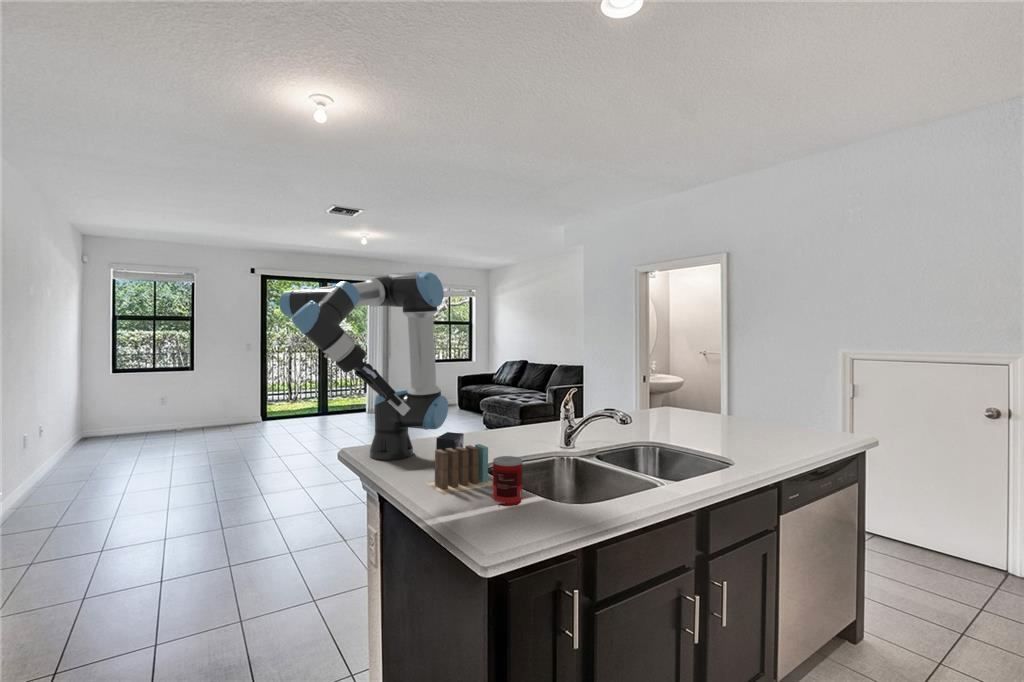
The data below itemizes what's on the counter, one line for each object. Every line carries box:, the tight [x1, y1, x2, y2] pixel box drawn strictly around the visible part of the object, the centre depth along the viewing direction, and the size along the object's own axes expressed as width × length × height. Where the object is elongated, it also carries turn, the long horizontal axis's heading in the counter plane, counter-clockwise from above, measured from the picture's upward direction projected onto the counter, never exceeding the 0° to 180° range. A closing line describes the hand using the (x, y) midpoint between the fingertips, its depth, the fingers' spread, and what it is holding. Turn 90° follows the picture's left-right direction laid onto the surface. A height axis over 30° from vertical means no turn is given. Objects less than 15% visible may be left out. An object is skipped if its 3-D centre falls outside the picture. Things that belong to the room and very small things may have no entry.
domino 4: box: [464, 444, 479, 484], centre depth 142 cm, size 5×2×10 cm, turn 33°
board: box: [425, 478, 493, 495], centre depth 140 cm, size 12×17×1 cm
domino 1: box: [434, 449, 448, 490], centre depth 137 cm, size 5×2×10 cm, turn 33°
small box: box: [435, 431, 464, 451], centre depth 161 cm, size 11×6×10 cm, turn 168°
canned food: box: [492, 455, 523, 507], centre depth 128 cm, size 8×8×11 cm
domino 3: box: [455, 446, 469, 486], centre depth 140 cm, size 5×2×10 cm, turn 33°
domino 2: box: [445, 448, 458, 488], centre depth 138 cm, size 5×2×10 cm, turn 33°
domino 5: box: [474, 443, 489, 483], centre depth 144 cm, size 5×2×10 cm, turn 33°
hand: (406, 411), depth 137 cm, fingers closed
